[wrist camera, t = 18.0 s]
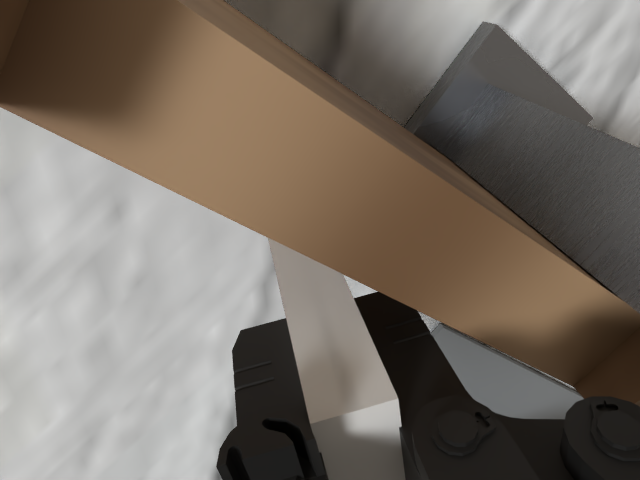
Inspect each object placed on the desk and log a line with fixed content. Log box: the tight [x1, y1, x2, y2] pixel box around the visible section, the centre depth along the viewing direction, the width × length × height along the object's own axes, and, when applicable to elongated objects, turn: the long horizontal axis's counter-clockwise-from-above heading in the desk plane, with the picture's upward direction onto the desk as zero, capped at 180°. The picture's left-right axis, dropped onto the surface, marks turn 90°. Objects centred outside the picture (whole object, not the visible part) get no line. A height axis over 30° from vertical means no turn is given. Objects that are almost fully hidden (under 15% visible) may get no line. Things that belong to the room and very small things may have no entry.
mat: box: [431, 323, 584, 419], centre depth 24 cm, size 11×11×1 cm
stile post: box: [404, 22, 640, 314], centre depth 11 cm, size 5×5×12 cm
